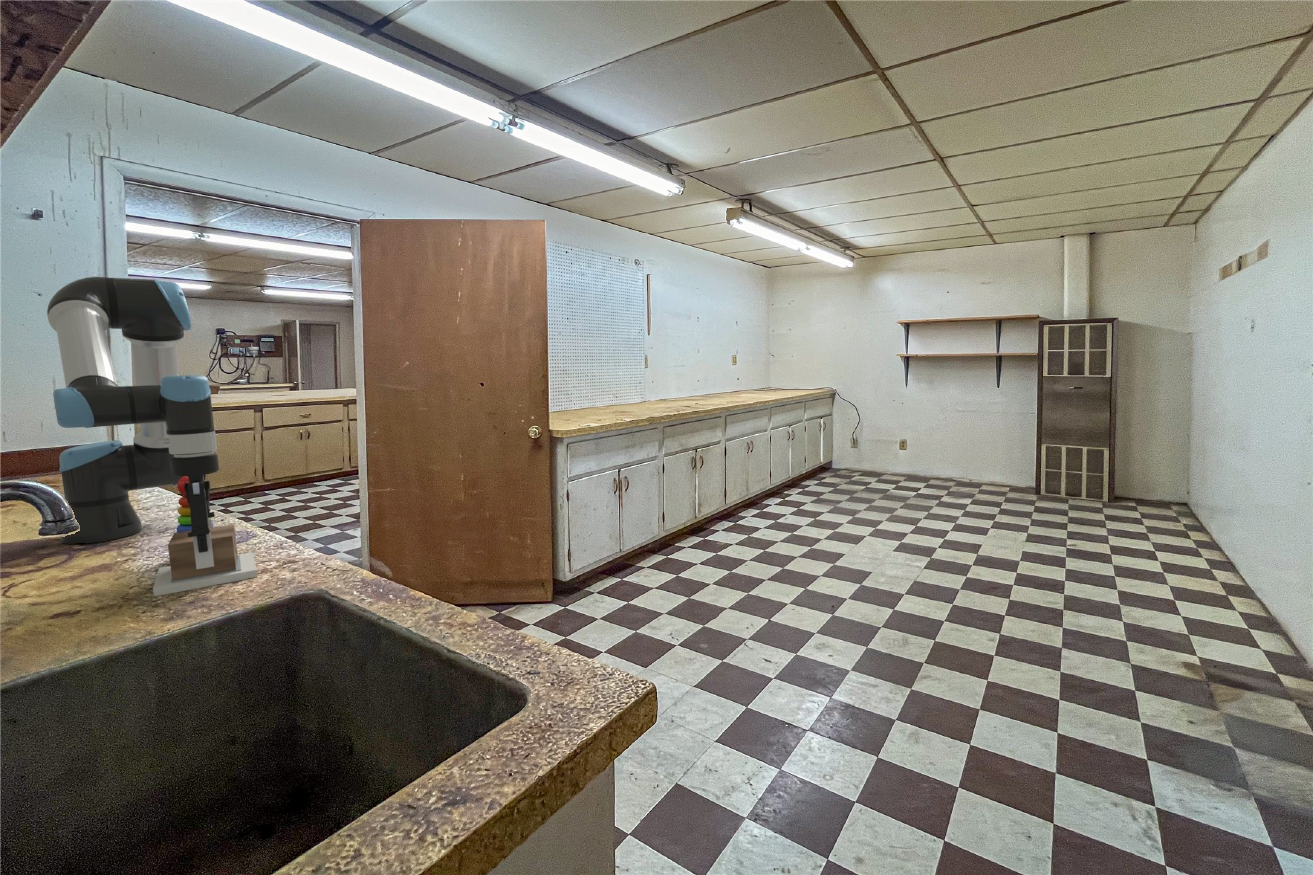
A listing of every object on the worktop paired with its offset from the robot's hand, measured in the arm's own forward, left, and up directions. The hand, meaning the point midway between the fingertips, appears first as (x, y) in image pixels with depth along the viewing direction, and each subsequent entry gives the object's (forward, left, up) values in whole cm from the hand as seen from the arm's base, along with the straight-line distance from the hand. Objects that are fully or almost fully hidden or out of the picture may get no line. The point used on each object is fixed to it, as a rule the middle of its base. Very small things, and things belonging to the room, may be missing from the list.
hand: (206, 558), depth 121 cm
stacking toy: (-16, -2, -4) cm, 17 cm away
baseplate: (0, 0, -4) cm, 4 cm away
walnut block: (0, 0, -2) cm, 2 cm away
